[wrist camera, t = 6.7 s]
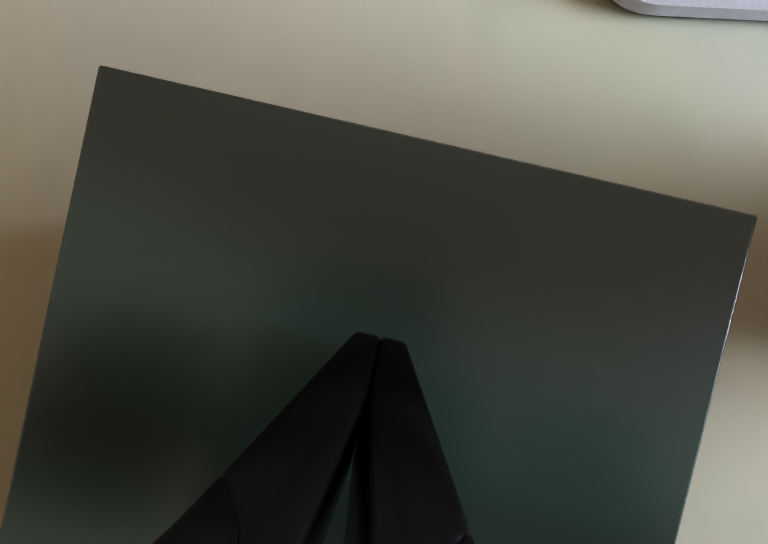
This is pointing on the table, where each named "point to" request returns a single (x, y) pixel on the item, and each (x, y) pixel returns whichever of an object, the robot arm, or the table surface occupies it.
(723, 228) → the cover
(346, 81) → the table surface
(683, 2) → the handheld gaming device
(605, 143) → the table surface
